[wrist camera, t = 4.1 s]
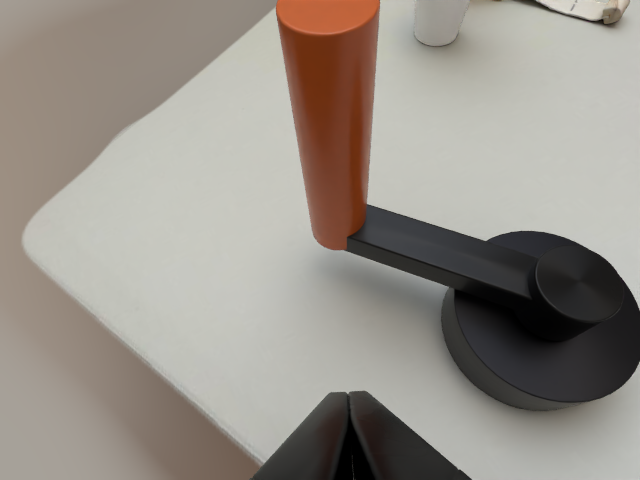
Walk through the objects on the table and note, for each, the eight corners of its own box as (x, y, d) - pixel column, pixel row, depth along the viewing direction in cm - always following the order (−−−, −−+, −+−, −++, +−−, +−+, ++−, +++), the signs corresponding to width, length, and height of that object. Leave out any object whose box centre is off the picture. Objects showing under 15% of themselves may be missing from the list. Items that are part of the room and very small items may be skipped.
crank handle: (591, 286, 18) (907, 58, 8) (583, 352, 17) (952, 182, 6) (327, 201, 21) (306, -40, 11) (302, 252, 20) (251, 30, 10)
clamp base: (641, 380, 19) (688, 367, 16) (487, 434, 18) (509, 430, 16) (547, 240, 23) (573, 212, 20) (416, 281, 22) (425, 257, 20)
